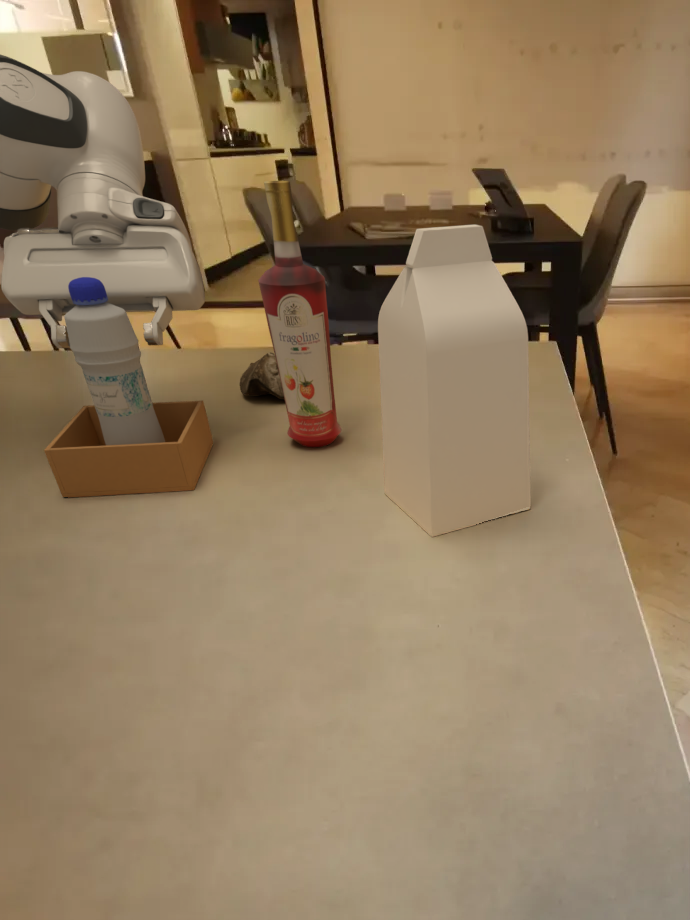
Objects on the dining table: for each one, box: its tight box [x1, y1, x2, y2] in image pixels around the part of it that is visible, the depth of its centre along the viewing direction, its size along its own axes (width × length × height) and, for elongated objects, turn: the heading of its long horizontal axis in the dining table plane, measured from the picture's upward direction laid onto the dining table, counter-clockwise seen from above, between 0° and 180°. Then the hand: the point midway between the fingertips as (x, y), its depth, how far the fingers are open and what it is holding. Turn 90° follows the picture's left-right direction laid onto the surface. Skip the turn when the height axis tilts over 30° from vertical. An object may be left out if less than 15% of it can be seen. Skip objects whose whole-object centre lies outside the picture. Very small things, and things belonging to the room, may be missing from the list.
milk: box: [377, 224, 532, 538], centre depth 69 cm, size 12×12×26 cm
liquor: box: [257, 180, 343, 448], centre depth 82 cm, size 7×7×28 cm
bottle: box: [63, 277, 165, 445], centre depth 77 cm, size 7×7×20 cm
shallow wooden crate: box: [43, 399, 214, 498], centre depth 82 cm, size 14×14×6 cm
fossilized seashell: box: [239, 351, 285, 400], centre depth 103 cm, size 8×7×10 cm
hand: (108, 344), depth 76 cm, fingers open, 8 cm apart
